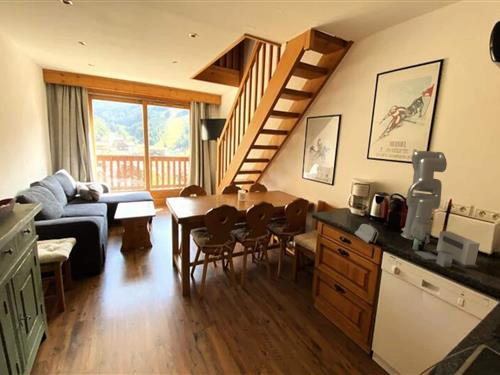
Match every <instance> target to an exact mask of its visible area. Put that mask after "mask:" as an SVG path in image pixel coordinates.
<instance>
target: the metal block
mask: <svg viewBox="0 0 500 375" xmlns="http://www.w3.org/2000/svg"><path fill="white" fill-rule="evenodd" d="M437 256H438V257H437V260H435V263H436V264H437V265H439V266H441V267H442V268H451V267H452V265H453V264H452V263H453V262H452V259H453V254H451V253H449V252H447V251H439V252H438V254H437Z"/></svg>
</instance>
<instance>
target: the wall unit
mask: <svg viewBox="0 0 500 375" xmlns="http://www.w3.org/2000/svg"><path fill="white" fill-rule="evenodd" d="M437 241H438V242H437V245H436V249H435V248H434V249H433V250H432V251H433V252H434V253H436V254H437V255H438V252H439V251H447V252H449V253H451V254H453V259H452V263H454V264H456V265H458V266H459V267H462V268H465V269H479V265H478V264H476V261H477V258H478V252H479V248H480V244H481V243H479V242H476V241H474V240H472V239H469V238H467V237H464V236H462V235H459V234H457V233H455V232H453V231H449V230H446V231H445V230H444V231H443V230H440V232H439V237H438V240H437Z"/></svg>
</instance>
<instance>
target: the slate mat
mask: <svg viewBox="0 0 500 375" xmlns="http://www.w3.org/2000/svg"><path fill="white" fill-rule="evenodd" d="M414 254H416V255H418V256H420V257H421V258H423V259H424V260H426V261H437V257H438V255H436V254H434V253H432V252H431V251H416V250H414Z"/></svg>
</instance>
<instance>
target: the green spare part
mask: <svg viewBox="0 0 500 375" xmlns="http://www.w3.org/2000/svg"><path fill="white" fill-rule="evenodd" d="M422 242H423V240H422ZM419 244H420V240H419V239H417V238H414V244H413V247H412V250H414V251H419V250H418V245H419Z"/></svg>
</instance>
